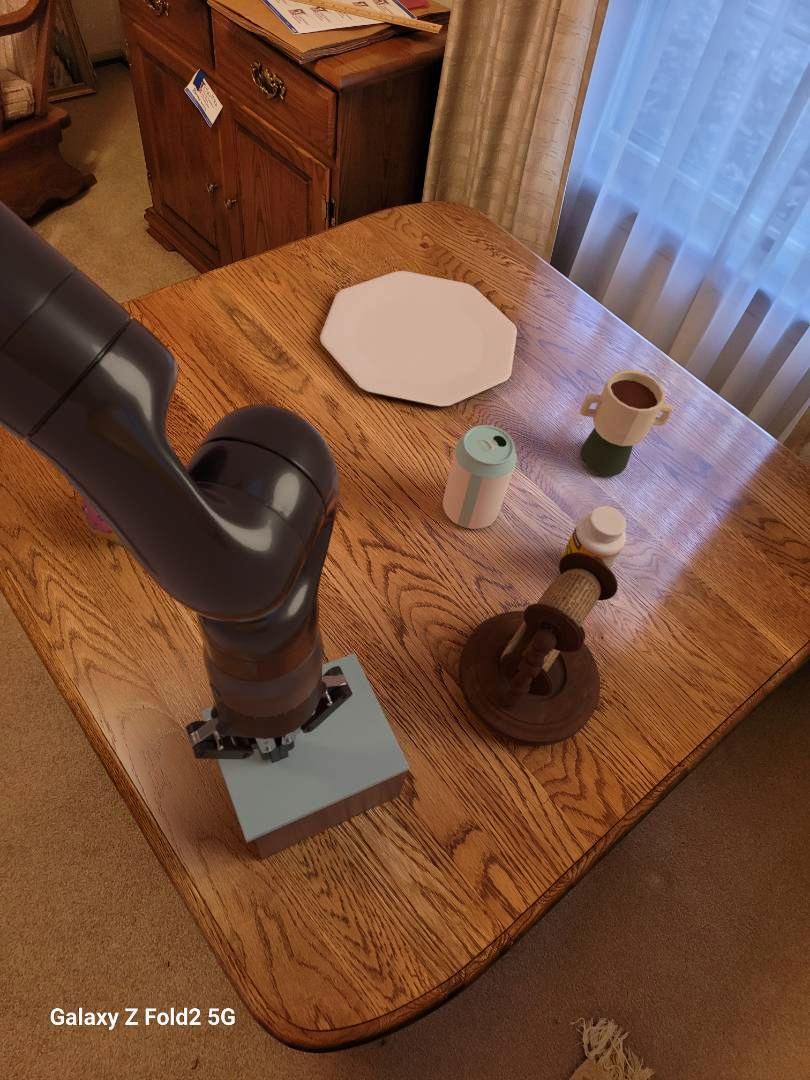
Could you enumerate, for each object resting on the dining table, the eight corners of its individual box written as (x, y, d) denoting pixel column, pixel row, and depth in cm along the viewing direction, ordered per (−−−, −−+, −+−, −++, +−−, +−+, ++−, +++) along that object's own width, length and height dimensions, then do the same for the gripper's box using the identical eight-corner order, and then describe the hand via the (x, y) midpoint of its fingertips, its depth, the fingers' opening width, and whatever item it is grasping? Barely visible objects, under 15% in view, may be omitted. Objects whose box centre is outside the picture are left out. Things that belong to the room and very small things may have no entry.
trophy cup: (638, 446, 101) (676, 374, 90) (644, 487, 97) (685, 416, 86) (559, 436, 100) (589, 363, 90) (562, 477, 96) (593, 405, 86)
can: (453, 479, 94) (469, 412, 84) (505, 499, 93) (528, 433, 83) (433, 519, 90) (448, 453, 81) (487, 540, 89) (509, 476, 80)
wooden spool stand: (501, 598, 85) (545, 489, 68) (615, 671, 81) (692, 574, 65) (429, 694, 77) (460, 597, 61) (552, 780, 73) (620, 701, 57)
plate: (303, 385, 101) (303, 377, 100) (348, 267, 117) (349, 259, 116) (502, 426, 101) (504, 418, 99) (520, 302, 116) (522, 294, 115)
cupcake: (77, 523, 85) (47, 453, 75) (144, 488, 89) (123, 417, 79) (117, 573, 82) (90, 507, 72) (184, 534, 85) (167, 466, 76)
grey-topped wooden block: (246, 842, 59) (245, 840, 59) (201, 714, 65) (200, 710, 64) (408, 770, 64) (409, 767, 64) (354, 656, 70) (354, 652, 69)
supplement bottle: (548, 560, 89) (573, 508, 80) (585, 545, 90) (613, 492, 82) (575, 597, 86) (603, 547, 78) (612, 580, 88) (644, 530, 79)
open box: (261, 860, 66) (256, 839, 60) (220, 743, 72) (211, 712, 66) (399, 796, 71) (408, 770, 65) (350, 690, 77) (354, 656, 70)
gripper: (335, 583, 53) (331, 683, 67) (149, 649, 49) (185, 741, 63) (380, 672, 49) (364, 758, 63) (182, 752, 45) (213, 825, 59)
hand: (275, 750), depth 63 cm, fingers closed
